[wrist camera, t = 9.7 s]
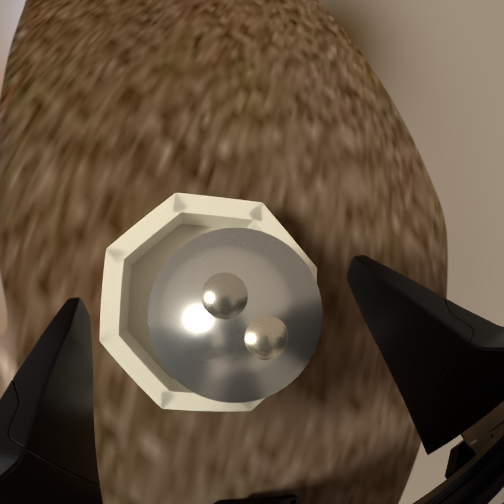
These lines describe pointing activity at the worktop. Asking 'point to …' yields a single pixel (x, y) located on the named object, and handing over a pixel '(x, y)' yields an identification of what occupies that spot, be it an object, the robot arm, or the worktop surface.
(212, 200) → the bowl
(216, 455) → the worktop surface
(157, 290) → the canister
